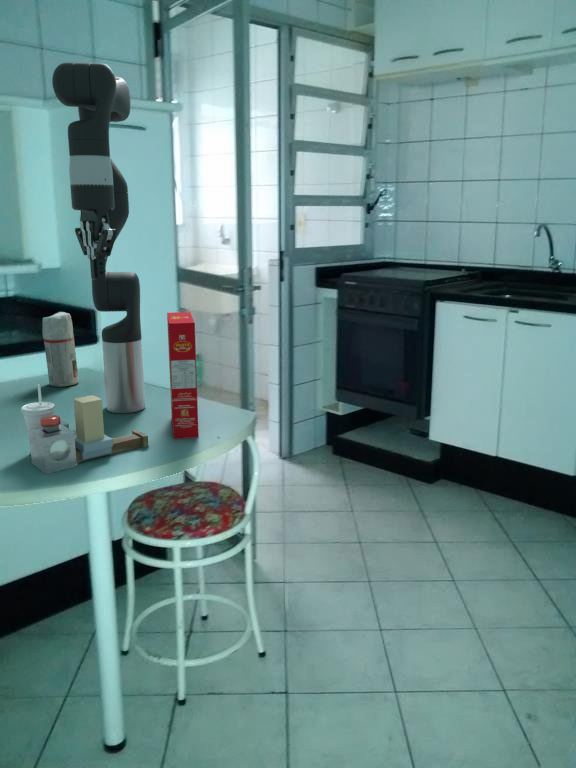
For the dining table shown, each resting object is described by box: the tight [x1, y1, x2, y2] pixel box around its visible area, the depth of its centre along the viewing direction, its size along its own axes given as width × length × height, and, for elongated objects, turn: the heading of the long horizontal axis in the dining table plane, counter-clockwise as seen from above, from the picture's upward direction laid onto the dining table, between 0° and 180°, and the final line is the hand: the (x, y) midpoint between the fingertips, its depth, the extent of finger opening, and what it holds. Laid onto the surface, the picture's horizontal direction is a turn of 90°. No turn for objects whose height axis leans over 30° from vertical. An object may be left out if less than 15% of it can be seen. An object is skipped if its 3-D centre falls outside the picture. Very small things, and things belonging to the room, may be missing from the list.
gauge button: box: [40, 414, 61, 434], centre depth 131 cm, size 4×4×7 cm
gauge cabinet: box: [28, 424, 78, 475], centre depth 132 cm, size 7×6×7 cm
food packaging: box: [166, 311, 200, 440], centre depth 152 cm, size 15×5×25 cm, turn 11°
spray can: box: [41, 311, 79, 388], centre depth 190 cm, size 8×8×20 cm
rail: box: [75, 429, 149, 463], centre depth 139 cm, size 5×16×2 cm, turn 130°
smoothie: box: [21, 383, 56, 440], centre depth 138 cm, size 6×6×14 cm
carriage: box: [60, 394, 113, 461], centre depth 138 cm, size 15×7×11 cm, turn 40°
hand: (98, 279), depth 128 cm, fingers closed
